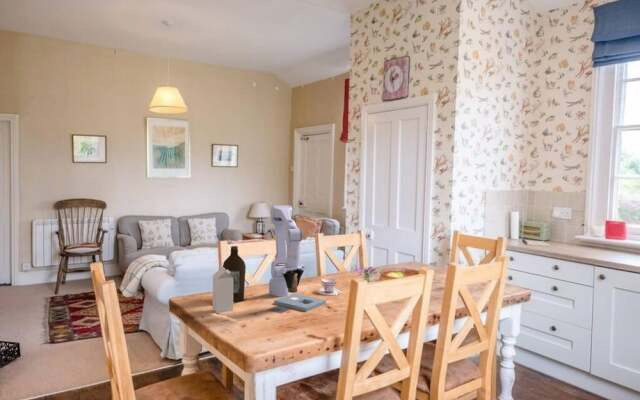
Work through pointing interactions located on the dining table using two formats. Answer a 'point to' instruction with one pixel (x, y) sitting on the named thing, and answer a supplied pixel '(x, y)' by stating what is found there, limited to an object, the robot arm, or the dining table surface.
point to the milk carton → (222, 291)
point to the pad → (279, 309)
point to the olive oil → (236, 273)
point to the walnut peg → (293, 284)
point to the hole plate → (300, 302)
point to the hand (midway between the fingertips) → (292, 286)
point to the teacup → (329, 287)
